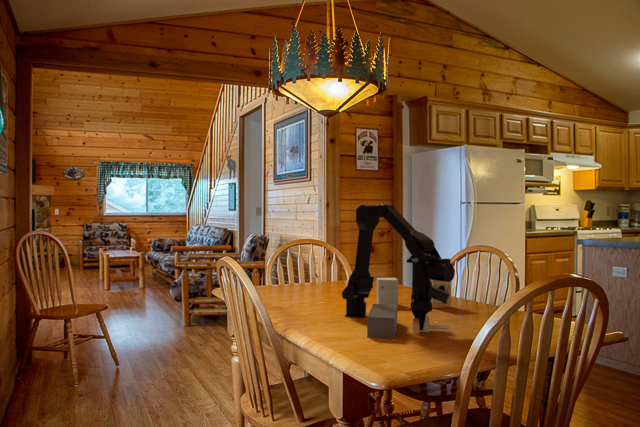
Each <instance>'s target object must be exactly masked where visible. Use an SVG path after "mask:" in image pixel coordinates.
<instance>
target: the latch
mask: <svg viewBox="0 0 640 427" xmlns="http://www.w3.org/2000/svg"><path fill="white" fill-rule="evenodd" d="M413 334H414V335H419V334H420V332H419V319H416V318H414V331H413Z"/></svg>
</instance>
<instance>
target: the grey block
mask: <svg viewBox="0 0 640 427" xmlns="http://www.w3.org/2000/svg"><path fill="white" fill-rule="evenodd" d="M398 312H399V311H398V306H397V305H387V304H377V303H373V304H372V306H371V308H370V309H369V313H368V315H367V317H366V318H367V322H366V323H367V326H366V329H367V330H366V331H367V332H366V334H367V335H366V338H375V339H377V338H378V339H379V338H380V339H395V338H396V332H397V326H398V316H399V314H398Z"/></svg>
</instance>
